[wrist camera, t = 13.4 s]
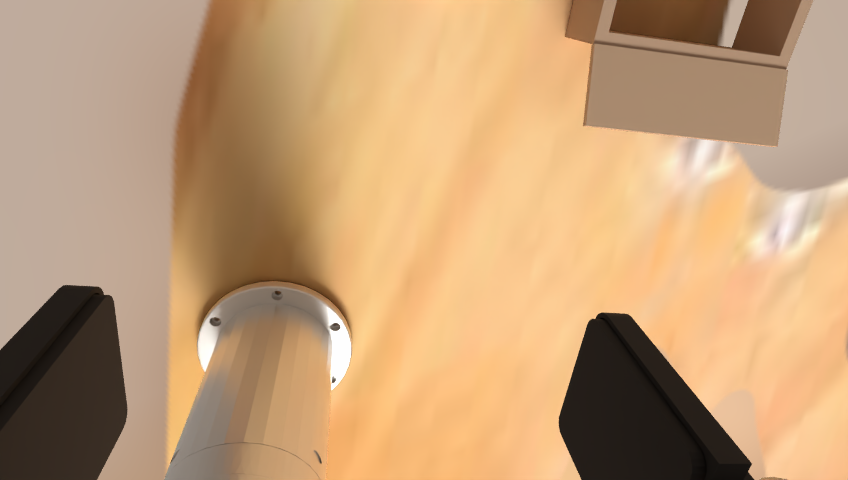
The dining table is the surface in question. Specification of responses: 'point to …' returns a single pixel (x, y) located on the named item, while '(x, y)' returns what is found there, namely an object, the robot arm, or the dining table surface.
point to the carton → (690, 75)
